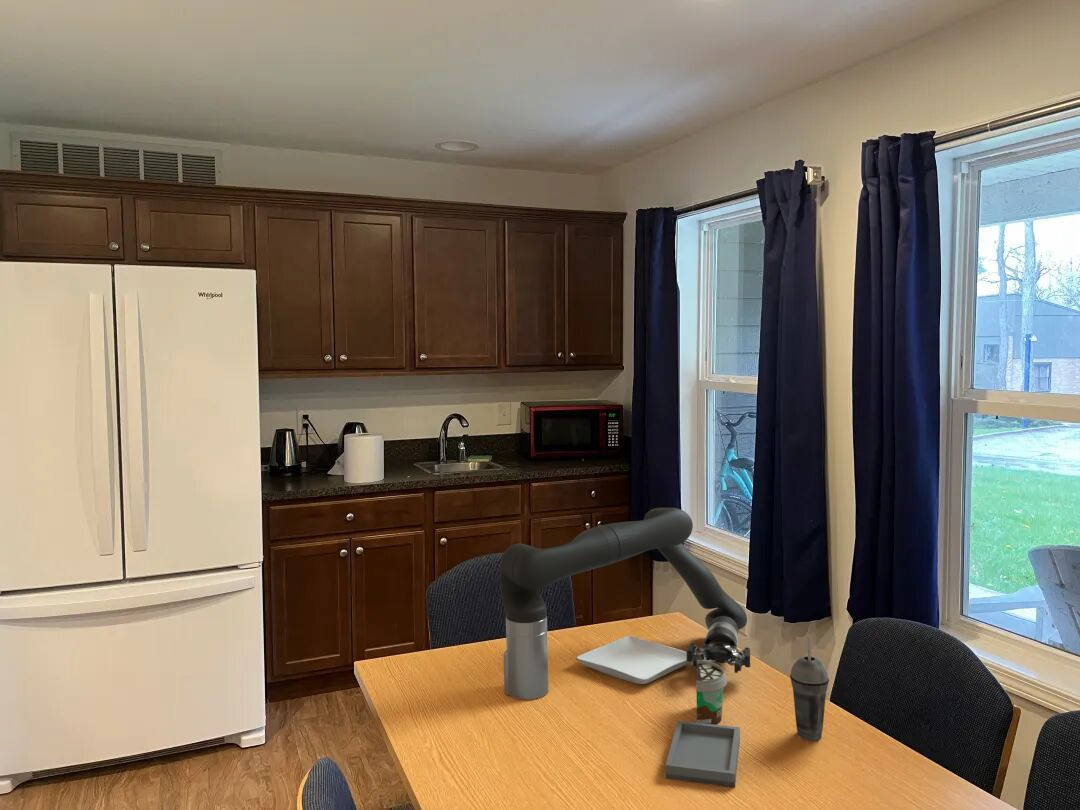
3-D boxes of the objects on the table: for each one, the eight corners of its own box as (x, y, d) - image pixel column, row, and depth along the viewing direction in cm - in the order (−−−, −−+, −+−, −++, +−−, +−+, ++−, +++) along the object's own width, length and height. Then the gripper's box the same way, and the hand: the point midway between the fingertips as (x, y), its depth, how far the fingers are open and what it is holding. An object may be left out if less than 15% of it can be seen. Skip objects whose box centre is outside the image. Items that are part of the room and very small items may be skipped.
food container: (728, 733, 158) (728, 683, 157) (696, 730, 159) (696, 681, 158) (726, 706, 170) (726, 660, 169) (697, 704, 171) (696, 658, 170)
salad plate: (627, 646, 207) (627, 633, 207) (697, 667, 192) (697, 653, 192) (573, 670, 192) (573, 656, 192) (644, 694, 177) (644, 679, 177)
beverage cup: (828, 729, 158) (829, 631, 157) (829, 746, 151) (829, 643, 150) (790, 724, 160) (790, 627, 159) (789, 741, 154) (789, 640, 152)
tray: (665, 778, 141) (665, 764, 141) (678, 732, 158) (677, 720, 158) (734, 787, 138) (734, 773, 138) (740, 739, 155) (740, 727, 155)
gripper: (691, 624, 193) (683, 647, 178) (751, 628, 189) (749, 653, 174) (691, 654, 194) (684, 680, 178) (752, 659, 190) (749, 686, 174)
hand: (716, 666), depth 176 cm, fingers open, 8 cm apart
